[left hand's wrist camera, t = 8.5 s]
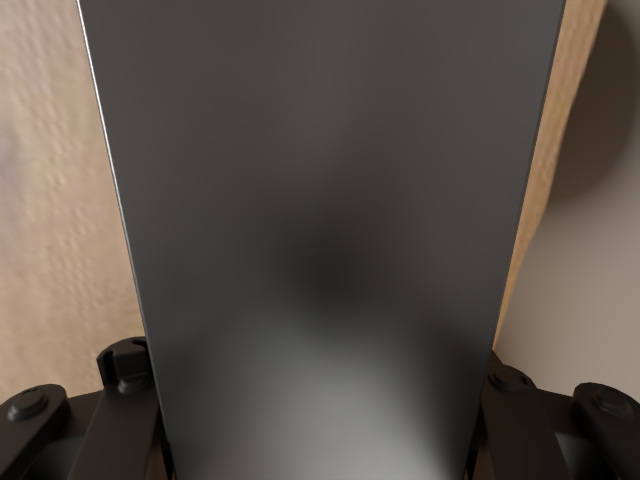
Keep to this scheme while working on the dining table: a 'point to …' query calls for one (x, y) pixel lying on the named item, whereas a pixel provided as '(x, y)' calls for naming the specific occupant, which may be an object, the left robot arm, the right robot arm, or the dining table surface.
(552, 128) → the dining table surface
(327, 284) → the bar
